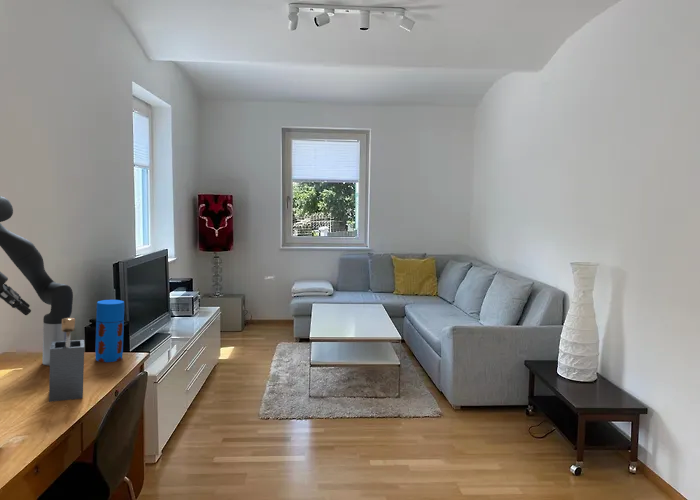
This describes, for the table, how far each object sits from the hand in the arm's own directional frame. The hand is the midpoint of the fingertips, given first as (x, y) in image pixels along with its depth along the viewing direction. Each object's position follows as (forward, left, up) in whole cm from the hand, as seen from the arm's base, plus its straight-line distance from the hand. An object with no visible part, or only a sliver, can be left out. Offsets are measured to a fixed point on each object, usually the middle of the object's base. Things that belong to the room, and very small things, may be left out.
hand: (28, 310), depth 161 cm
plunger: (-1, +12, -29) cm, 31 cm away
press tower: (-1, +12, -31) cm, 33 cm away
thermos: (-41, +27, -31) cm, 58 cm away
